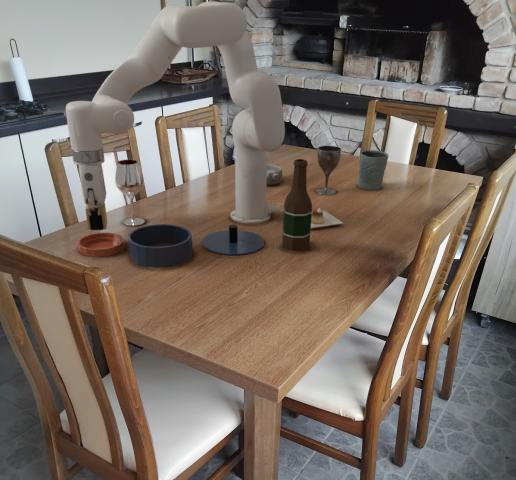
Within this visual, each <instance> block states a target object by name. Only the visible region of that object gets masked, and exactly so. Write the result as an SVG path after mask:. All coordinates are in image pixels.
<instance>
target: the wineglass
mask: <svg viewBox="0 0 516 480" xmlns="http://www.w3.org/2000/svg"><path fill="white" fill-rule="evenodd" d="M115 168H116V169H115V177H114V181H115V186H116V188H117V189H118V190H119V191H120V192H121V193H122V194H124V195H125V196H126V197H127V198H128V199H129V200H130V202H129V203H130V210H131V217H129V218H126V219H125V220H123V224H124V225H125V226H130V227H136V226H141V225H144V224H145V223H146V221H145V219H143V218H141V217H136V214H135V207H134V205H135V204H134V198H135V197H136V195H138V194H139V193H140V191H142V189H143V188H144V185H145V179H144V175H143V173H142V170H141V167H140V165H139V162H138V160H136V159H121V160H118V161H117V163H116V167H115Z"/></svg>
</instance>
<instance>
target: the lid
mask: <svg viewBox="0 0 516 480" xmlns="http://www.w3.org/2000/svg"><path fill="white" fill-rule="evenodd" d="M238 227H239V226H238V225H237V224H229V225H228V229H226V230H219V231H213V232H211V233H209V234H207V235H205V236H204V237H203V239H202V241H201V244H202V247H203V248H204V250H207V251H208V252H210V253H213V254H217V255H221V256H233V257H234V256H245V255H246V256H247V255H251V254H254V253H257V252H259V251H261V250H262V249H263V247H264V246H265V240H264V238H263V237H262V236H261V235H259V234H257V233H255V232H252V231H247V230H241V229H239V228H238Z"/></svg>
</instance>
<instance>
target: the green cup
mask: <svg viewBox="0 0 516 480" xmlns="http://www.w3.org/2000/svg"><path fill="white" fill-rule="evenodd" d="M389 156H390V155H389V153H387V152H385V151H381V150H373V149H368V150H362V151H360V153H359V166H358V167H359V169H358V173H359V174H358V180H357V186H358V188H359V189H361V190H365V191H378V190H380V189H382V186H383V181H384V176H385V170H386V167H387V163H388V159H389Z"/></svg>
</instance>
